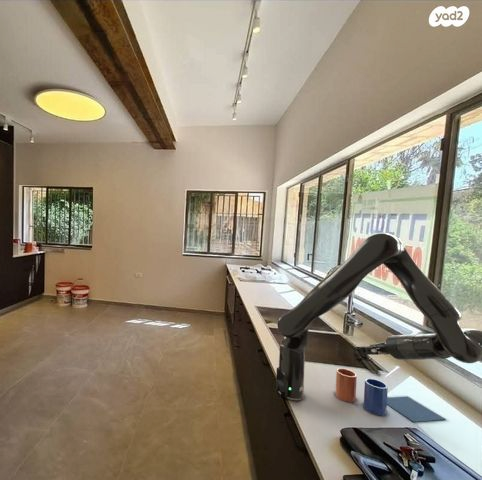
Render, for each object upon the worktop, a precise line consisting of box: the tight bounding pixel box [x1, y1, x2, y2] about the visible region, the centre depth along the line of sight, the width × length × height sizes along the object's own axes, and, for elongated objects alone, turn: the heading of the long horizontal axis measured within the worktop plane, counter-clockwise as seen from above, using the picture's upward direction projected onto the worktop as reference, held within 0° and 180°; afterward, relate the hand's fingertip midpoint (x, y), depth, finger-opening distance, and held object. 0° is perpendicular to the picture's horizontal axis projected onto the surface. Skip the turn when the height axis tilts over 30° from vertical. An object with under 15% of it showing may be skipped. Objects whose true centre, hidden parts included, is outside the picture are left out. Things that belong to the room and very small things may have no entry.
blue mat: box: [387, 396, 446, 423], centre depth 101 cm, size 13×13×1 cm
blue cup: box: [363, 377, 389, 416], centre depth 100 cm, size 7×7×10 cm
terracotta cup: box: [334, 367, 358, 403], centre depth 107 cm, size 7×7×10 cm
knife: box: [354, 350, 381, 375], centre depth 136 cm, size 25×6×1 cm, turn 154°
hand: (366, 348), depth 101 cm, fingers open, 8 cm apart
